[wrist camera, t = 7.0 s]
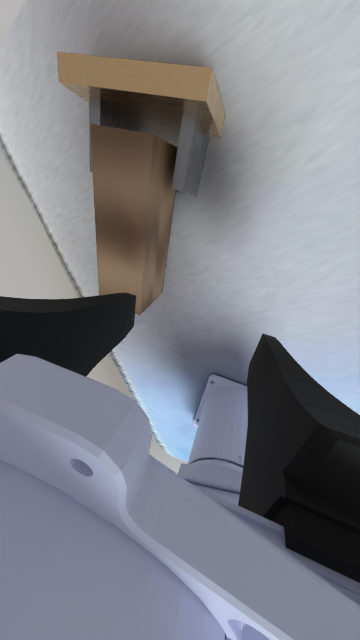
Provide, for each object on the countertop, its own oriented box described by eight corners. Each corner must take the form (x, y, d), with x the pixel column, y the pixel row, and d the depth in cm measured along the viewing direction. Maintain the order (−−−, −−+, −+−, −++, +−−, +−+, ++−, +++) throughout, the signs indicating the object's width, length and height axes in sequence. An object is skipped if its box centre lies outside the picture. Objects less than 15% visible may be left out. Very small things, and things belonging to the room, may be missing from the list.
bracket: (206, 198, 17) (189, 191, 13) (111, 177, 19) (64, 164, 14) (225, 115, 15) (212, 68, 10) (113, 99, 17) (57, 51, 12)
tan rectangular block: (162, 292, 22) (139, 315, 18) (128, 282, 23) (99, 301, 19) (180, 149, 16) (152, 134, 12) (132, 140, 16) (90, 123, 12)
